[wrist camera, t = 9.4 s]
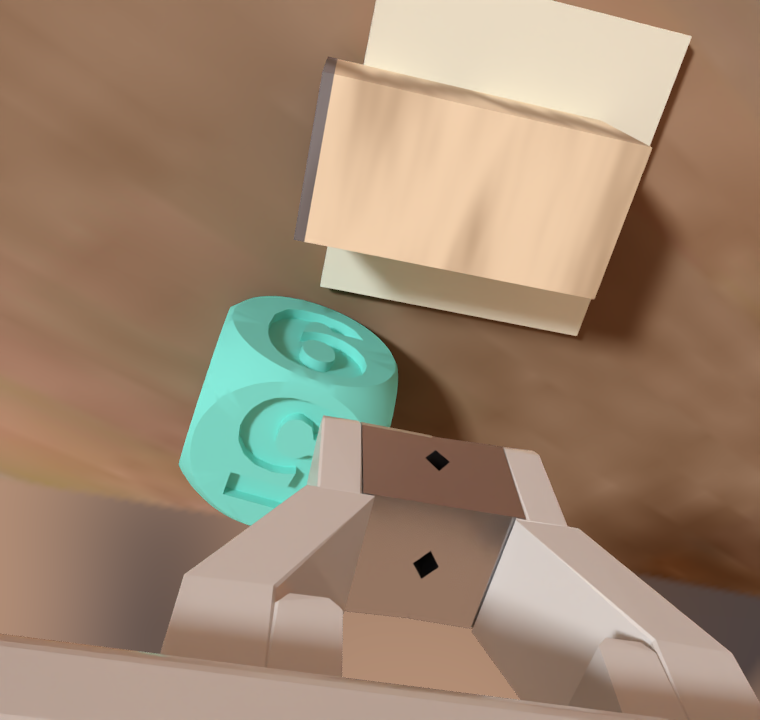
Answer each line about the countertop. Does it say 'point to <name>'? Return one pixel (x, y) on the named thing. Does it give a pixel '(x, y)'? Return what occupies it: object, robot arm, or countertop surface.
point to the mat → (521, 83)
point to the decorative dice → (280, 400)
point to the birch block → (465, 180)
